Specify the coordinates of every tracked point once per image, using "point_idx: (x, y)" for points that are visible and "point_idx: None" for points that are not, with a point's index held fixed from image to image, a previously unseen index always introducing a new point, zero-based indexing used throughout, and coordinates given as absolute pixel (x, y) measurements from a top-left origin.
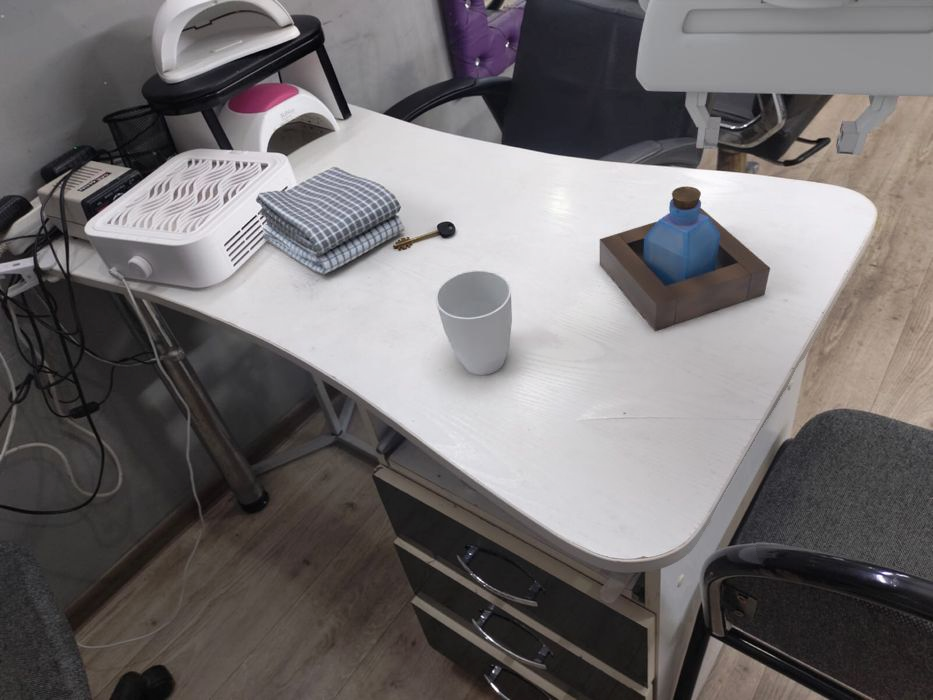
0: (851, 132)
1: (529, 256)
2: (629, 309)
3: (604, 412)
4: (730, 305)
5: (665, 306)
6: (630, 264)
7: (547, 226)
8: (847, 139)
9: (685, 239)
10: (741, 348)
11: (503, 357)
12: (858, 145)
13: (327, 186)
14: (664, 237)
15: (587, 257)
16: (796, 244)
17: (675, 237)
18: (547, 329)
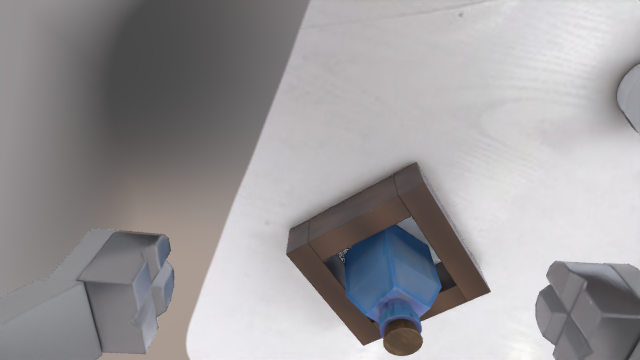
0: (104, 285)
1: None
2: (445, 195)
3: (487, 12)
4: (327, 210)
5: (411, 184)
6: (454, 250)
7: None
8: (123, 263)
9: (394, 278)
10: (315, 144)
11: (632, 79)
12: (92, 248)
13: None
14: (419, 284)
15: (492, 275)
16: (256, 305)
17: (406, 282)
18: (553, 151)
